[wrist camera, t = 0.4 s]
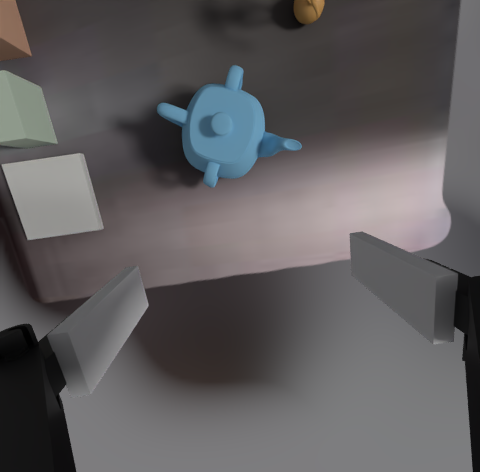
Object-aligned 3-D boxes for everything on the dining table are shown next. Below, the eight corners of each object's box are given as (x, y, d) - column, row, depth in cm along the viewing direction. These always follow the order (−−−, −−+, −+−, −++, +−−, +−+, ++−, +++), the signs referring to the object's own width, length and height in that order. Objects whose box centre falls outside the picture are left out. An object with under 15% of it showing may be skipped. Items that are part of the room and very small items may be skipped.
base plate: (8, 165, 39) (1, 164, 38) (83, 154, 39) (78, 153, 38) (33, 238, 42) (27, 240, 40) (103, 228, 42) (100, 229, 40)
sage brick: (8, 92, 37) (-35, 76, 31) (41, 87, 37) (4, 70, 31) (26, 148, 38) (-11, 143, 33) (58, 144, 38) (26, 138, 33)
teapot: (171, 116, 38) (142, 95, 27) (255, 71, 36) (260, 30, 26) (208, 191, 41) (195, 199, 30) (288, 153, 39) (304, 147, 29)
